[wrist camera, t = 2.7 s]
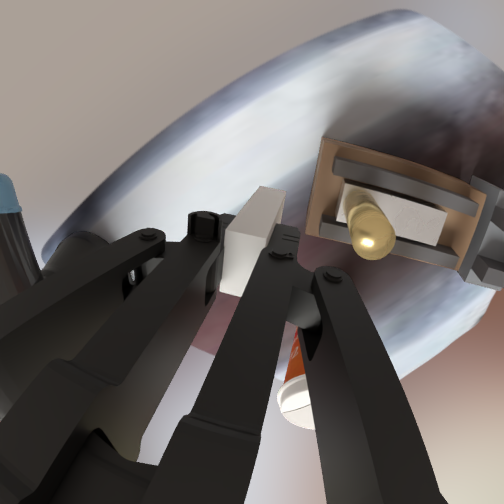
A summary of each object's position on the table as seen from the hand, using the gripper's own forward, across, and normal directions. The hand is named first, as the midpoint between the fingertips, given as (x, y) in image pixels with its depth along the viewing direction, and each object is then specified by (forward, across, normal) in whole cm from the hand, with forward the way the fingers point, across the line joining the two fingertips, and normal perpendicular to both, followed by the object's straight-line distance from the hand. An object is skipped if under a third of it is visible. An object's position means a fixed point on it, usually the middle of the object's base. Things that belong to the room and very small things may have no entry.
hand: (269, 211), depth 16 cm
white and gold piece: (+7, -9, 0) cm, 12 cm away
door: (+14, -11, 0) cm, 17 cm away
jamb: (+14, -23, 0) cm, 27 cm away
